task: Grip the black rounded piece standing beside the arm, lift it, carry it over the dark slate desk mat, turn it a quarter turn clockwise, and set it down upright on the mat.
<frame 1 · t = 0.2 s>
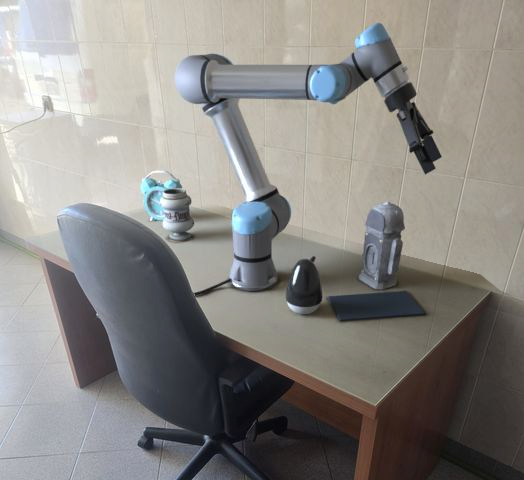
hand: (433, 165, 124), 36 cm above the table, tool tilted 35°, fingers open, 13 cm apart
apothecary jar: (180, 238, 183), on the table
alarm clock: (164, 219, 202), on the table
desk mat: (374, 306, 133), on the table
black rounded piece: (303, 310, 132), on the table
figurine: (378, 281, 147), on the table
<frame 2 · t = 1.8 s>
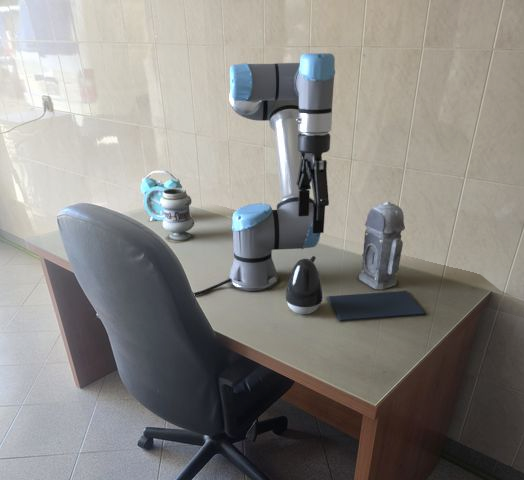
hand: (310, 224, 119), 25 cm above the table, tool pointing down, fingers open, 13 cm apart
nothing on the table moved.
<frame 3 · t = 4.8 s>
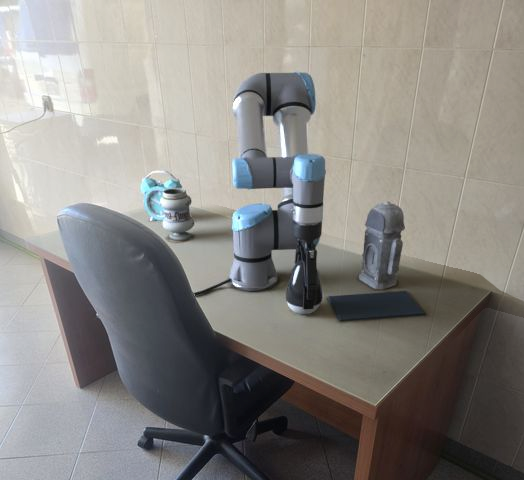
hand: (304, 299, 130), 3 cm above the table, tool pointing down, fingers closed on black rounded piece, 10 cm apart
black rounded piece: (303, 310, 132), on the table, touching gripper
everything else where it was.
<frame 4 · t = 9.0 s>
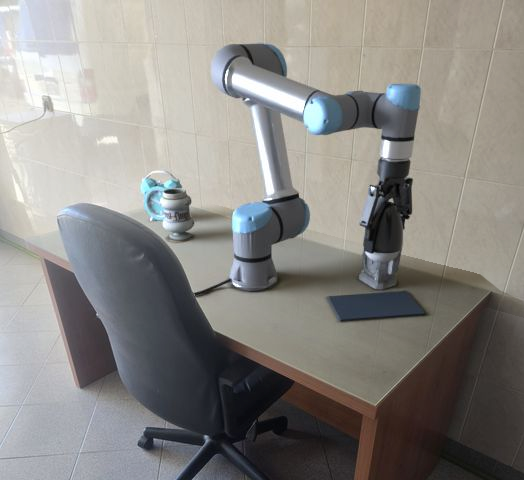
hand: (382, 247, 124), 18 cm above the table, tool pointing down, fingers closed on black rounded piece, 10 cm apart
black rounded piece: (381, 259, 126), point 14 cm above the table, touching gripper
everything else where it was.
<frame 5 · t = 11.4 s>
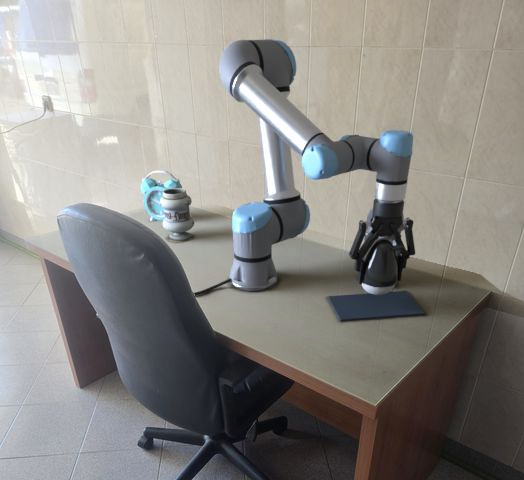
hand: (378, 280, 129), 8 cm above the table, tool pointing down, fingers closed on black rounded piece, 10 cm apart
black rounded piece: (377, 291, 131), point 5 cm above the table, touching gripper
everything else where it was.
when the fingers open (4 cm above the table, at t = 13.1 s): black rounded piece stays where it is, resting on desk mat.
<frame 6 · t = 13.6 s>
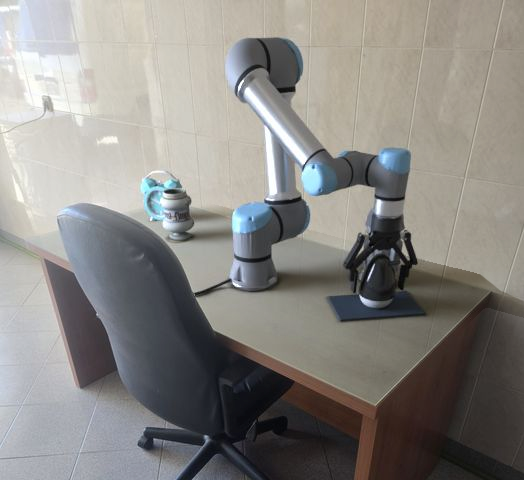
hand: (376, 289, 131), 5 cm above the table, tool pointing down, fingers open, 13 cm apart
black rounded piece: (375, 304, 133), resting on desk mat
everything else where it was.
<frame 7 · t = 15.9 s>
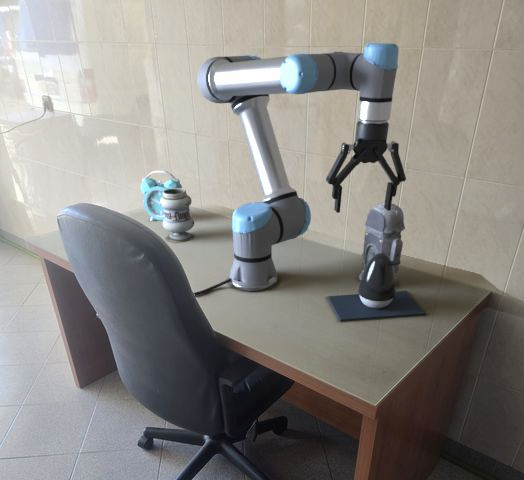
hand: (362, 210, 123), 26 cm above the table, tool pointing down, fingers open, 13 cm apart
nothing on the table moved.
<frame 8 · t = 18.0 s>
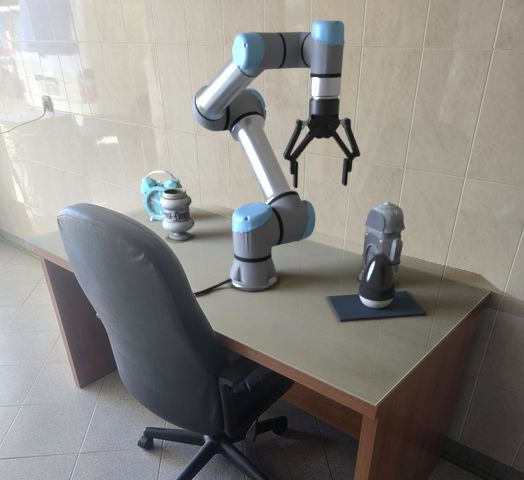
hand: (319, 185, 127), 31 cm above the table, tool pointing down, fingers open, 13 cm apart
nothing on the table moved.
at the end: black rounded piece inside the target area on the desk mat (0.1 cm from its centre), point 0.4 cm above the desk mat's base; black rounded piece tilted 0°; the gripper is holding nothing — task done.
